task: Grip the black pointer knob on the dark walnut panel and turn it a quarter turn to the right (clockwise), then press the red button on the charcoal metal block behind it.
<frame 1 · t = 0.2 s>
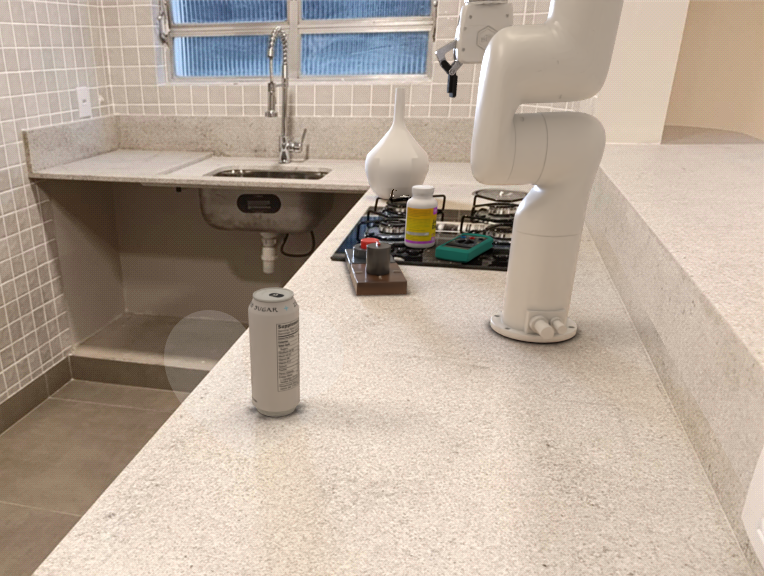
hand: (477, 96, 136), 31 cm above the worktop, tool pointing down, fingers open, 9 cm apart
supplement bottle: (419, 246, 156), on the worktop
dial: (378, 258, 129), point 5 cm above the worktop, hinge at 0.0°
digital multimeter: (463, 254, 148), on the worktop
button block: (368, 265, 143), on the worktop
vase: (395, 197, 206), on the worktop
energy drink can: (276, 408, 88), on the worktop
button: (369, 244, 141), point 4 cm above the worktop, slide at 0.1 cm
dial panel: (377, 285, 131), on the worktop
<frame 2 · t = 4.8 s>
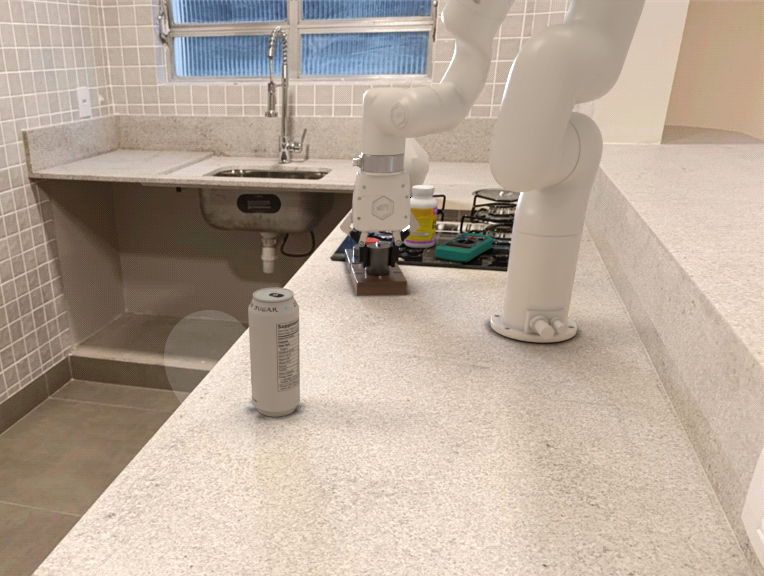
hand: (378, 264, 129), 4 cm above the worktop, tool pointing down, fingers closed on dial, 4 cm apart
dial: (378, 258, 129), point 5 cm above the worktop, hinge at 0.1°, touching gripper
everything else where it was.
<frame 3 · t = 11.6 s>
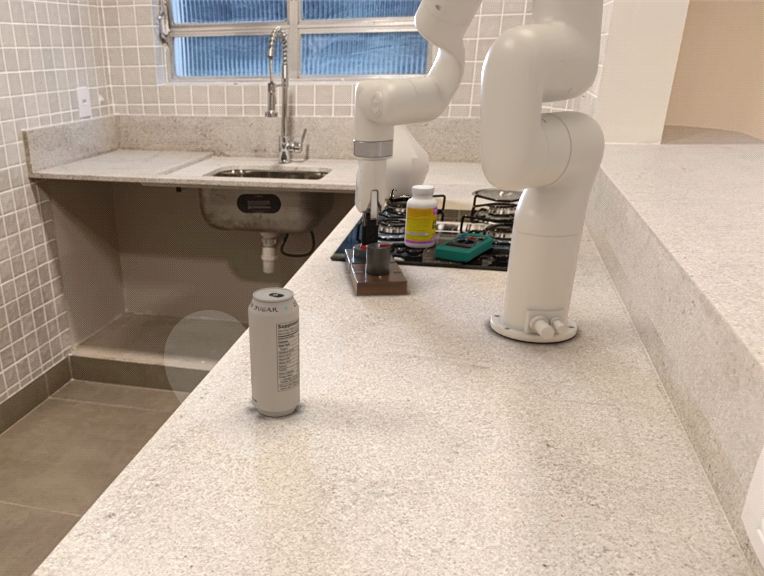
hand: (369, 244, 141), 4 cm above the worktop, tool pointing down, fingers closed
dial: (378, 258, 129), point 5 cm above the worktop, hinge at -91.0°
button: (369, 248, 141), point 4 cm above the worktop, slide at -0.8 cm, touching gripper
everything else where it was.
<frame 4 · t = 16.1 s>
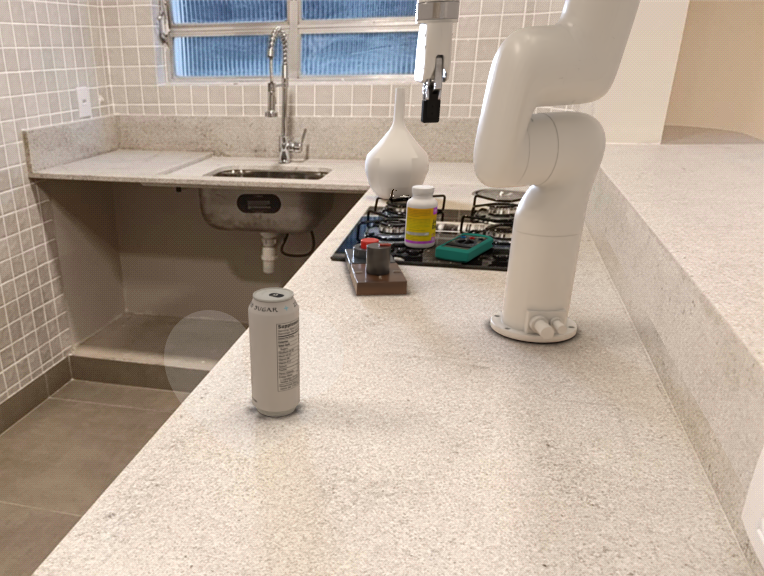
hand: (429, 122, 133), 27 cm above the worktop, tool pointing down, fingers closed
button: (369, 244, 141), point 4 cm above the worktop, slide at 0.1 cm
everything else where it was.
at the end: dial at -91° (first picture: +0°); button pushed in 1.1 cm at the most during the clip, back to where it started at the end; button slide at 0.1 cm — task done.
